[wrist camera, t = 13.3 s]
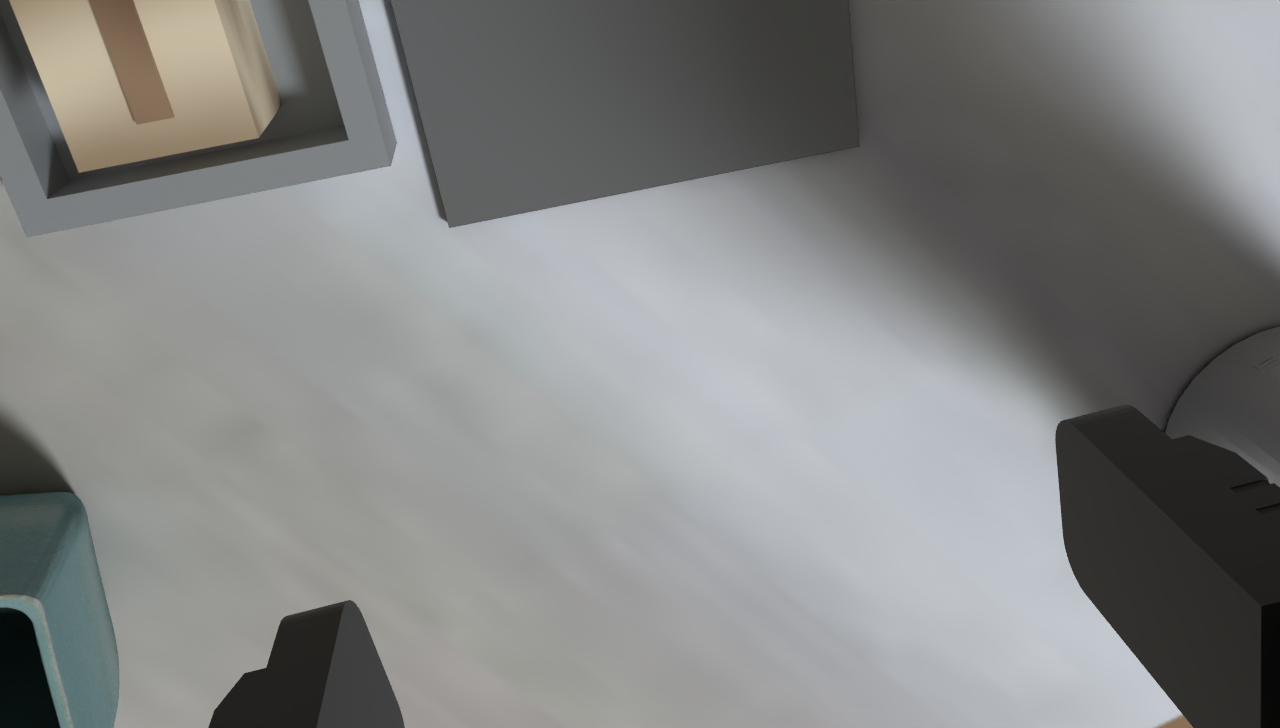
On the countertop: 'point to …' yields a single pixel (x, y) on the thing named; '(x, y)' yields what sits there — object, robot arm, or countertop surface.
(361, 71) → the slate tray
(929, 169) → the countertop surface
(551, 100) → the rubber mat
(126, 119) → the wooden block
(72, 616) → the flower pot
